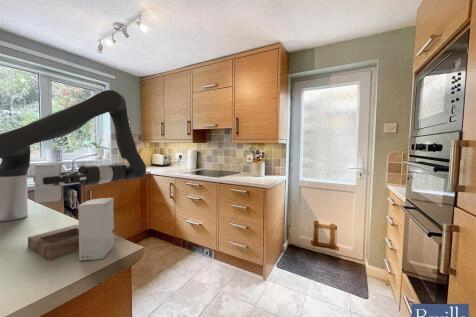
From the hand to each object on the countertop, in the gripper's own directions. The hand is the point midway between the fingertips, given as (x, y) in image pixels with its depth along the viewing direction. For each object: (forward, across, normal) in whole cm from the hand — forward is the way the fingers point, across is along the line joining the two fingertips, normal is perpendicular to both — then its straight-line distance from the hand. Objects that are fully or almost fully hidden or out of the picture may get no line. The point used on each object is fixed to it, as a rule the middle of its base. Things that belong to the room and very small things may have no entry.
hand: (38, 180), depth 65 cm
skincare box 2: (-4, +25, +19) cm, 32 cm away
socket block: (-2, +12, +19) cm, 22 cm away
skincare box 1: (-2, 0, +7) cm, 8 cm away
